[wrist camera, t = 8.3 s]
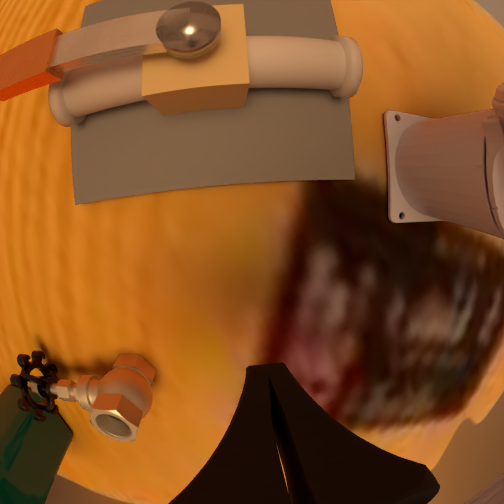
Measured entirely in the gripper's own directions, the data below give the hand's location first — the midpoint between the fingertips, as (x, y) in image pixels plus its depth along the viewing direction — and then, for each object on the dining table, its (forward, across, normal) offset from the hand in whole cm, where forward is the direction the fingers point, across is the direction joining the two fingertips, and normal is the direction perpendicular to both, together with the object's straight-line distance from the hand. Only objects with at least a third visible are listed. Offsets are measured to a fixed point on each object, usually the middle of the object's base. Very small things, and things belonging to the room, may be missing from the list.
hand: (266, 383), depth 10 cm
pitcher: (+10, +27, +15) cm, 32 cm away
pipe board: (+9, +2, -14) cm, 17 cm away
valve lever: (+4, +7, -14) cm, 16 cm away
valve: (+10, +14, +7) cm, 18 cm away
